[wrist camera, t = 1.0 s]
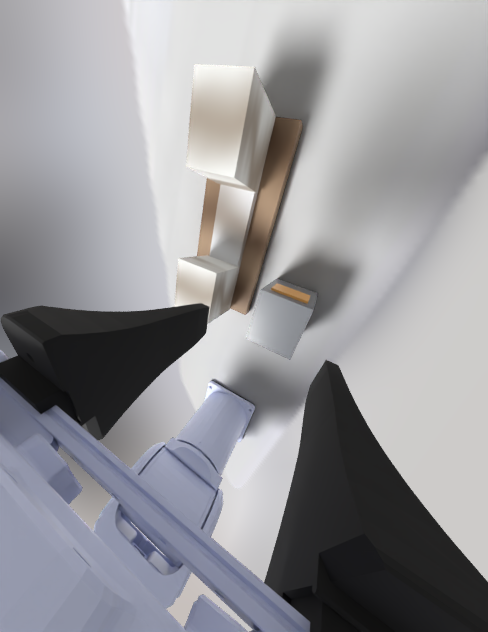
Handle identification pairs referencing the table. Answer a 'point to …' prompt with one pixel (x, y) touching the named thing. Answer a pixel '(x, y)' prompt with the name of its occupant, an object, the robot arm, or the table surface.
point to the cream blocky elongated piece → (233, 185)
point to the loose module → (281, 317)
